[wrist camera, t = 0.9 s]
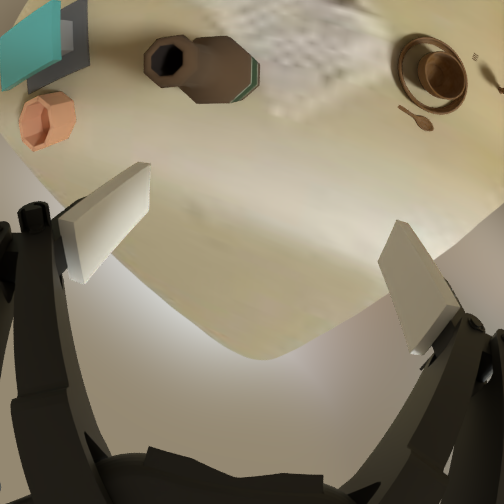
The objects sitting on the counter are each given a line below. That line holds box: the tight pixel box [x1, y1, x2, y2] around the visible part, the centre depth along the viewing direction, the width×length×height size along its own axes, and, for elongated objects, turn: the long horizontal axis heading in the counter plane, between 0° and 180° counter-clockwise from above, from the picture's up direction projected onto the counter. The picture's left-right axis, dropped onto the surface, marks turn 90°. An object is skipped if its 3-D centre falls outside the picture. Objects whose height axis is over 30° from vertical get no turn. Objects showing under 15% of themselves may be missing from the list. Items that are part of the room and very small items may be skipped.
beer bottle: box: [144, 35, 260, 104], centre depth 24 cm, size 8×8×24 cm
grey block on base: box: [27, 0, 90, 94], centre depth 28 cm, size 14×16×6 cm
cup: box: [19, 91, 76, 152], centre depth 36 cm, size 9×9×6 cm
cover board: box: [0, 0, 62, 91], centre depth 25 cm, size 11×14×2 cm
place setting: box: [398, 37, 504, 131], centre depth 28 cm, size 18×20×6 cm
